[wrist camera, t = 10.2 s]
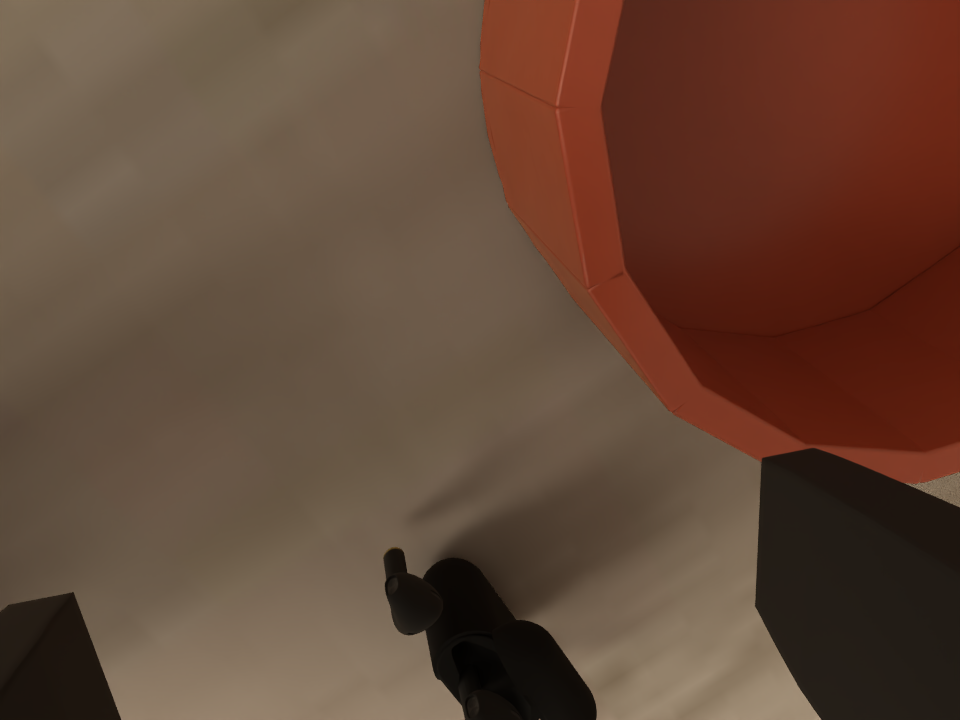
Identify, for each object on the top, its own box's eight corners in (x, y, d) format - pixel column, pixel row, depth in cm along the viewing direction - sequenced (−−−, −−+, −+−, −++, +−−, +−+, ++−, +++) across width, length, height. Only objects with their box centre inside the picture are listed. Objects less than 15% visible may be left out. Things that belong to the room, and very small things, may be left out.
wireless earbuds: (355, 508, 19) (373, 678, 14) (455, 449, 18) (506, 601, 14) (506, 700, 22) (561, 891, 17) (593, 651, 21) (671, 829, 17)
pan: (731, 525, 21) (865, 696, 16) (226, -194, 13) (180, -299, 8) (1176, 220, 20) (1472, 301, 15) (903, -755, 12) (1322, -1268, 7)
